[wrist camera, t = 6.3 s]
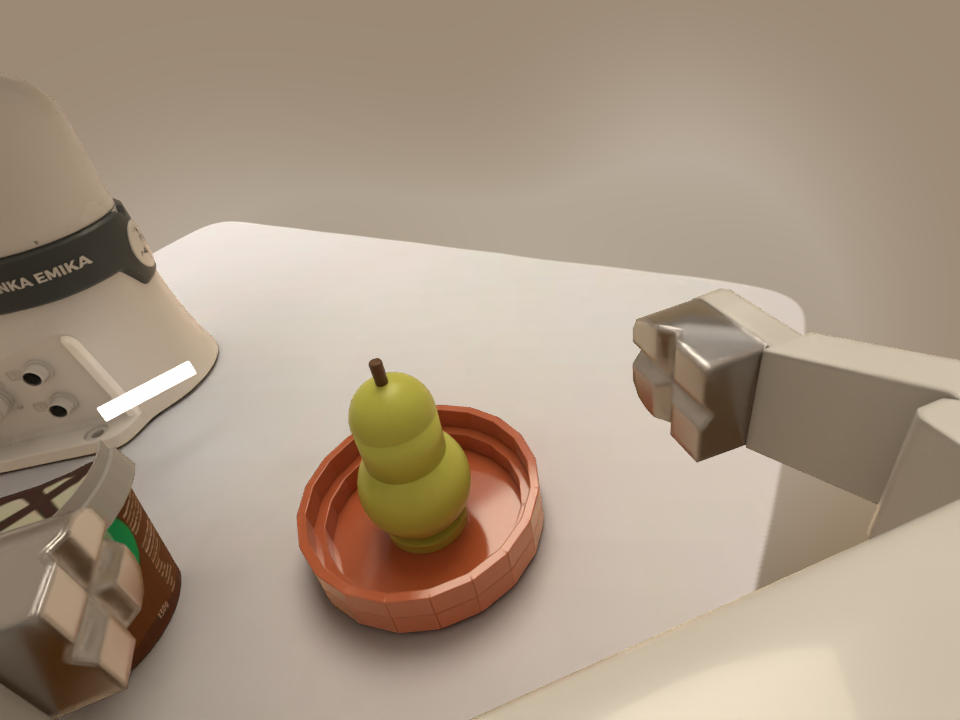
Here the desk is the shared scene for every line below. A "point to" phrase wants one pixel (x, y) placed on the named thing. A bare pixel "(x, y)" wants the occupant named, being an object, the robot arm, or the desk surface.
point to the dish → (432, 576)
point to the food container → (109, 532)
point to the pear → (408, 463)
